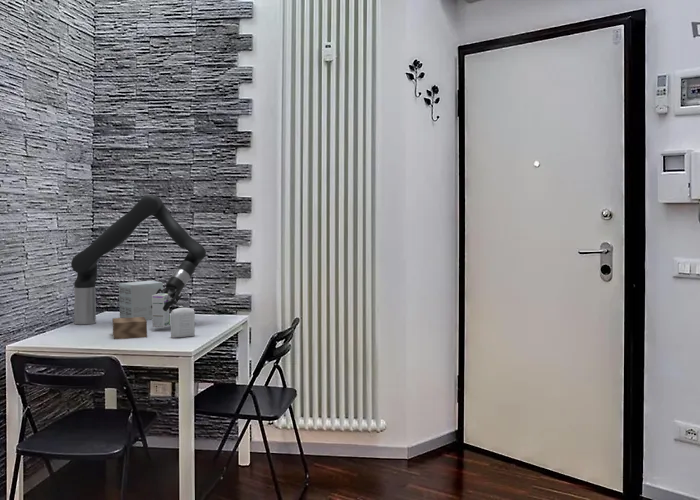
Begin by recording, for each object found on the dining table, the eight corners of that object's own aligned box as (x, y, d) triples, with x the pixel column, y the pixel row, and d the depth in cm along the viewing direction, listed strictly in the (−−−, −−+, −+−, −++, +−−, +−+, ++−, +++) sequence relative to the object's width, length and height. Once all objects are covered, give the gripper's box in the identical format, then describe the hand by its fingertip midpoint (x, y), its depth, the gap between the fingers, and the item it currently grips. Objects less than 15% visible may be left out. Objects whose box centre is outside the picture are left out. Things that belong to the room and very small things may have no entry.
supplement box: (150, 315, 345) (150, 280, 344) (164, 318, 336) (163, 282, 335) (118, 319, 333) (118, 282, 332) (131, 322, 324) (131, 284, 323)
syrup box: (164, 327, 299) (164, 295, 298) (151, 326, 300) (151, 294, 300) (170, 325, 305) (170, 293, 304) (158, 324, 306) (158, 292, 305)
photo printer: (192, 334, 291) (192, 306, 291) (196, 336, 288) (196, 307, 287) (169, 337, 285) (169, 308, 285) (173, 338, 282) (172, 309, 281)
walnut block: (114, 339, 280) (114, 323, 280) (112, 334, 292) (112, 318, 292) (146, 337, 285) (146, 321, 285) (144, 332, 297) (143, 316, 297)
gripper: (162, 274, 311) (142, 302, 302) (184, 276, 304) (164, 305, 295) (171, 285, 316) (152, 312, 307) (193, 287, 308) (174, 315, 299)
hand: (158, 309), depth 301 cm, fingers closed on syrup box, 7 cm apart
